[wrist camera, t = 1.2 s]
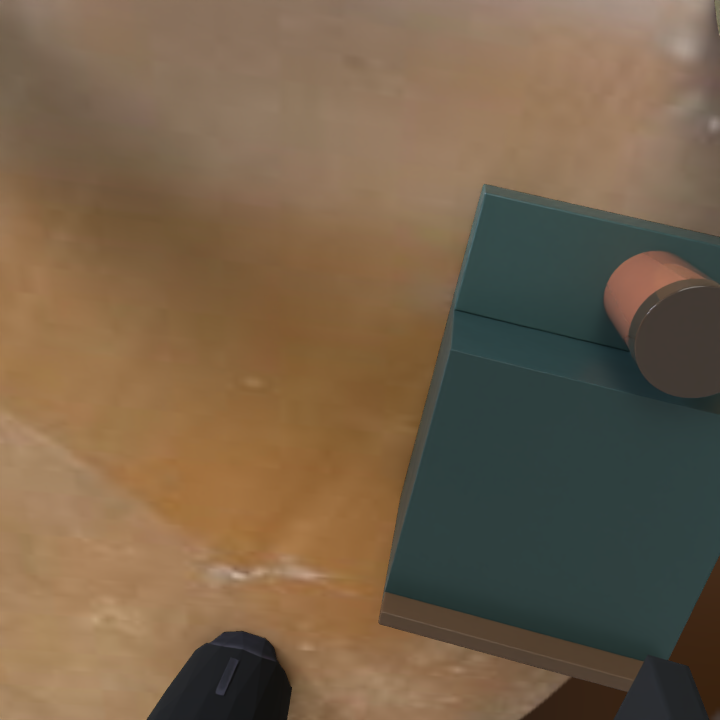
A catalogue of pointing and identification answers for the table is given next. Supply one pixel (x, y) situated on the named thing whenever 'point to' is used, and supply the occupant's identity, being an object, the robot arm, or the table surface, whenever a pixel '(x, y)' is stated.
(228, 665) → the portable speaker
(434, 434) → the dark green stepped block
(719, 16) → the squeeze bottle
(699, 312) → the spice jar
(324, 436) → the table surface
